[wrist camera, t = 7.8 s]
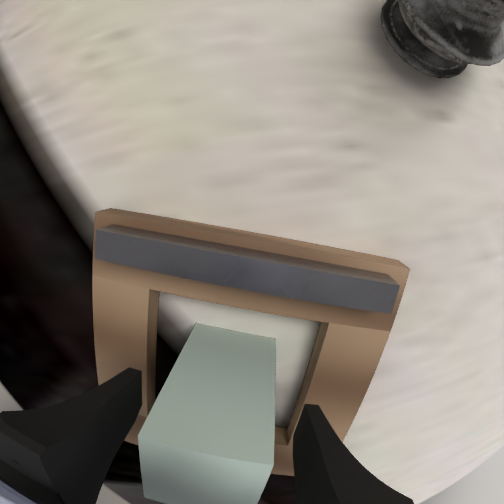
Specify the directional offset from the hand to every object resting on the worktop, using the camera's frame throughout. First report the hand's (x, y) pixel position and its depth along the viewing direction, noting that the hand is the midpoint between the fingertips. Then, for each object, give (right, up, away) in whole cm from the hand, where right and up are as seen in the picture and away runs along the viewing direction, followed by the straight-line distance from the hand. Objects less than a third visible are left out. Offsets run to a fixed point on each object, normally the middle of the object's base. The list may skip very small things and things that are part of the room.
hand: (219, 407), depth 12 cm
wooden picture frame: (0, +1, +3) cm, 3 cm away
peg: (0, +1, +3) cm, 3 cm away
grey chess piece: (+10, +18, -1) cm, 21 cm away
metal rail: (+1, +6, 0) cm, 6 cm away
